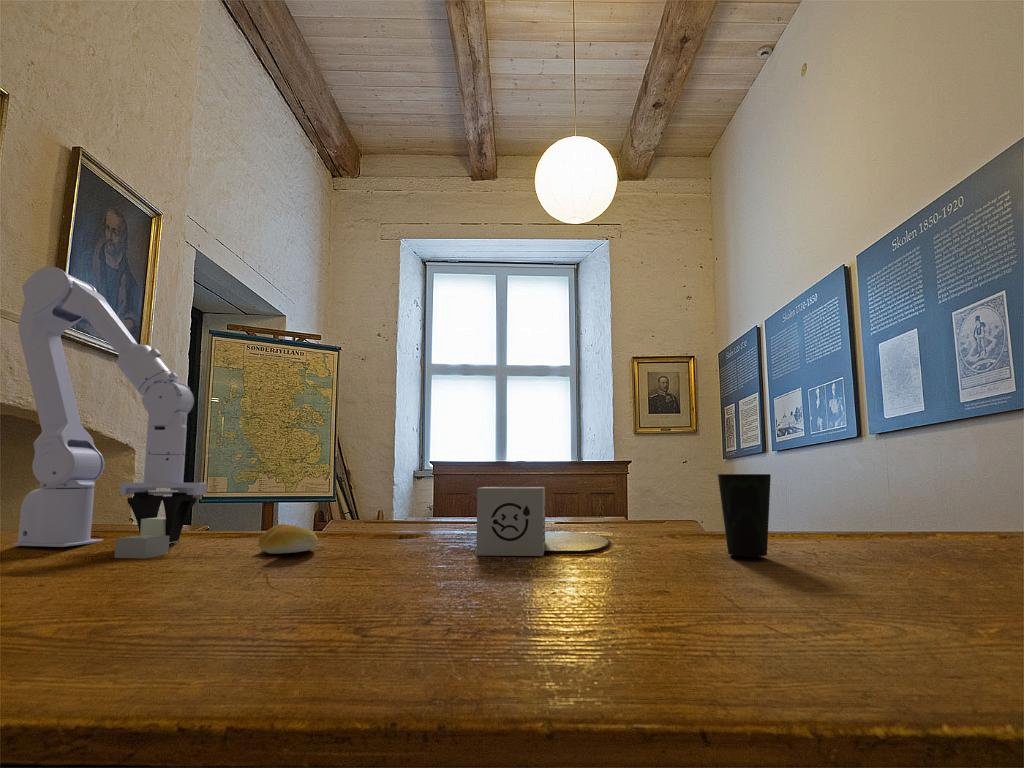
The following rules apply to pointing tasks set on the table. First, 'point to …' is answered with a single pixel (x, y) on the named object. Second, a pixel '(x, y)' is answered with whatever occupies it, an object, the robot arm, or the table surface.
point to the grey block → (141, 546)
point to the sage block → (154, 526)
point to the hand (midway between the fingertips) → (159, 541)
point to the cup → (745, 512)
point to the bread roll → (287, 539)
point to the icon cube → (511, 521)
